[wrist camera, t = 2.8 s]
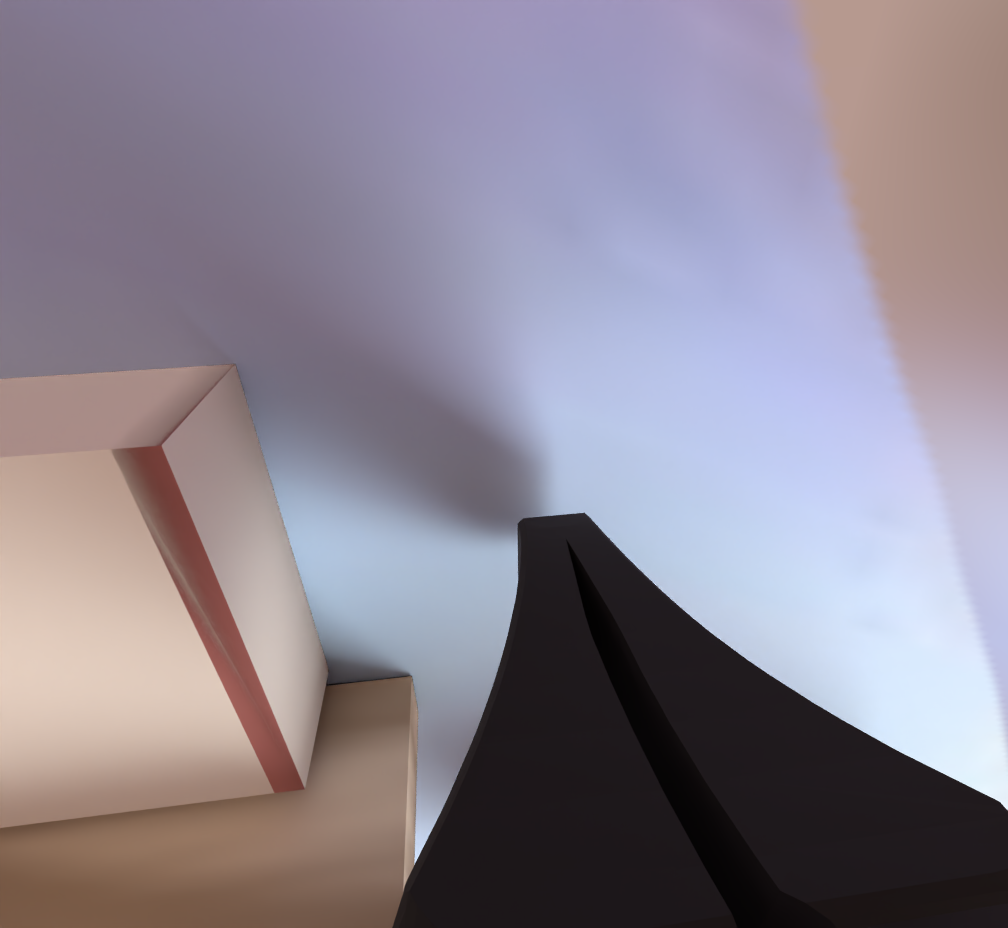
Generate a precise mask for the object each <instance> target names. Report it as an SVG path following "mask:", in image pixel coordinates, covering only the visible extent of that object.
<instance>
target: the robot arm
mask: <svg viewBox="0 0 1008 928" xmlns="http://www.w3.org/2000/svg"><path fill="white" fill-rule="evenodd" d="M392 928H1008V811H1007V809H1006V808H1005V807H1004V806H1003V805H1002V804H1001V803H1000V802H999V801H997V800H995V799H993V798H991V797H989V796H987V795H985V794H983V793H981V792H979V791H977V790H975V789H973V788H971V787H969V786H967V785H965V784H963V783H961V782H959V781H957V780H955V779H953V778H951V777H949V776H947V775H945V774H943V773H941V772H939V771H937V770H935V769H933V768H931V767H929V766H927V765H925V764H923V763H921V762H919V761H917V760H915V759H913V758H911V757H909V756H906V755H904V754H903V753H901V752H899V751H897V750H895V749H893V748H891V747H889V746H888V745H886V744H884V743H882V742H880V741H879V740H877V739H875V738H873V737H871V736H870V735H868V734H866V733H864V732H863V731H861V730H859V729H857V728H855V727H854V726H852V725H850V724H848V723H846V722H845V721H843V720H841V719H839V718H838V717H836V716H834V715H833V714H831V713H829V712H828V711H826V710H824V709H823V708H821V707H819V706H818V705H816V704H814V703H812V702H811V701H809V700H808V699H806V698H805V697H803V696H802V695H800V694H798V693H797V692H795V691H794V690H792V689H791V688H789V687H787V686H786V685H784V684H783V683H781V682H780V681H778V680H776V679H775V678H773V677H772V676H770V675H769V674H767V673H766V672H764V671H763V670H761V669H760V668H758V667H757V666H755V665H754V664H753V663H751V662H750V661H748V660H747V659H745V658H744V657H743V656H741V655H740V654H739V653H737V652H736V651H734V650H733V649H732V648H730V647H729V646H728V645H726V644H725V643H724V642H722V641H721V640H720V639H718V638H717V637H716V636H714V635H713V634H712V633H710V632H709V631H708V630H707V629H705V628H704V627H703V626H702V625H700V624H699V623H698V622H697V621H696V620H694V619H693V618H692V617H691V616H690V615H688V614H687V613H686V612H685V611H684V610H683V609H682V608H680V607H679V606H678V605H677V604H676V603H675V602H673V601H672V600H671V599H670V598H669V597H668V596H667V595H666V594H665V593H663V592H662V591H661V590H660V589H659V588H658V587H657V586H656V585H655V584H654V583H653V582H652V581H651V580H650V579H649V578H648V577H647V576H645V575H644V574H643V573H642V572H641V571H640V570H639V569H638V568H637V567H636V566H635V565H634V564H633V563H632V562H631V561H630V560H629V559H628V558H627V557H626V556H625V555H624V554H623V553H622V552H621V551H620V550H619V549H618V548H617V547H616V545H615V544H614V543H613V542H612V541H611V540H610V539H609V538H608V537H607V536H606V535H605V534H604V533H603V532H602V530H601V529H600V528H599V527H598V526H597V525H596V524H595V523H594V522H593V521H592V520H591V518H590V517H589V516H587V515H586V514H585V513H578V514H567V515H556V516H545V517H534V518H523V519H522V520H521V521H520V522H519V523H518V587H517V595H516V600H515V605H514V610H513V614H512V619H511V623H510V628H509V632H508V636H507V640H506V644H505V648H504V651H503V655H502V658H501V662H500V665H499V668H498V671H497V675H496V678H495V681H494V684H493V687H492V690H491V693H490V696H489V698H488V701H487V704H486V707H485V710H484V712H483V715H482V718H481V721H480V723H479V726H478V729H477V731H476V734H475V736H474V739H473V741H472V744H471V746H470V748H469V751H468V753H467V755H466V757H465V760H464V762H463V764H462V767H461V769H460V771H459V774H458V776H457V778H456V780H455V783H454V785H453V787H452V790H451V792H450V794H449V796H448V799H447V801H446V803H445V805H444V807H443V809H442V811H441V814H440V815H439V817H438V819H437V821H436V823H435V825H434V827H433V829H432V831H431V833H430V835H429V837H428V839H427V841H426V843H425V845H424V847H423V849H422V851H421V853H420V855H419V857H418V859H417V861H416V863H415V865H414V867H413V869H412V871H411V873H410V875H409V877H408V879H407V881H406V884H405V887H404V891H403V895H402V898H401V901H400V905H399V908H398V911H397V914H396V917H395V920H394V924H393V927H392Z"/></svg>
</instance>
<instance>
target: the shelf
mask: <svg viewBox="0 0 1008 928" xmlns="http://www.w3.org/2000/svg"><path fill="white" fill-rule="evenodd" d="M417 739H418V708H417V702H416V697H415V691H414V686H413V680H412V676H408V677H400V678H391V679H382V680H373V681H365V682H356V683H347V684H338V685H330V686H326V687H325V692H324V697H323V702H322V707H321V712H320V717H319V722H318V727H317V732H316V737H315V742H314V747H313V752H312V757H311V762H310V767H309V772H308V777H307V782H306V787H305V789H303V790H295V791H287V792H279V793H272V794H264V795H256V796H248V797H240V798H232V799H224V800H216V801H209V802H201V803H193V804H185V805H177V806H169V807H161V808H154V809H146V810H138V811H130V812H122V813H114V814H106V815H98V816H91V817H83V818H75V819H67V820H59V821H51V822H43V823H36V824H28V825H20V826H12V827H4V828H0V928H392V927H393V924H394V920H395V917H396V914H397V911H398V908H399V905H400V901H401V898H402V895H403V891H404V887H405V884H406V881H407V879H408V877H409V875H410V873H411V871H412V869H413V867H414V856H415V817H416V778H417Z"/></svg>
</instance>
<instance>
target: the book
mask: <svg viewBox="0 0 1008 928" xmlns="http://www.w3.org/2000/svg"><path fill="white" fill-rule="evenodd" d="M328 672H329V669H328V666H327V663H326V660H325V656H324V653H323V650H322V646H321V643H320V640H319V637H318V633H317V630H316V627H315V624H314V620H313V617H312V614H311V610H310V607H309V604H308V601H307V597H306V594H305V591H304V588H303V584H302V581H301V578H300V574H299V571H298V568H297V565H296V561H295V558H294V555H293V552H292V548H291V545H290V542H289V538H288V535H287V532H286V529H285V525H284V522H283V519H282V516H281V512H280V509H279V506H278V502H277V499H276V496H275V493H274V489H273V486H272V483H271V480H270V476H269V473H268V470H267V466H266V463H265V460H264V457H263V453H262V450H261V447H260V444H259V440H258V437H257V434H256V430H255V427H254V424H253V421H252V417H251V414H250V411H249V408H248V404H247V401H246V398H245V394H244V391H243V388H242V385H241V381H240V378H239V375H238V372H237V368H236V365H235V364H227V365H211V366H195V367H180V368H164V369H148V370H132V371H116V372H101V373H85V374H69V375H53V376H37V377H21V378H6V379H0V828H4V827H12V826H20V825H28V824H36V823H43V822H51V821H59V820H67V819H75V818H83V817H91V816H98V815H106V814H114V813H122V812H130V811H138V810H146V809H154V808H161V807H169V806H177V805H185V804H193V803H201V802H209V801H216V800H224V799H232V798H240V797H248V796H256V795H264V794H272V793H279V792H287V791H295V790H303V789H305V787H306V782H307V777H308V772H309V767H310V762H311V757H312V752H313V747H314V742H315V737H316V732H317V727H318V722H319V717H320V712H321V707H322V702H323V697H324V692H325V687H326V682H327V677H328Z"/></svg>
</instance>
